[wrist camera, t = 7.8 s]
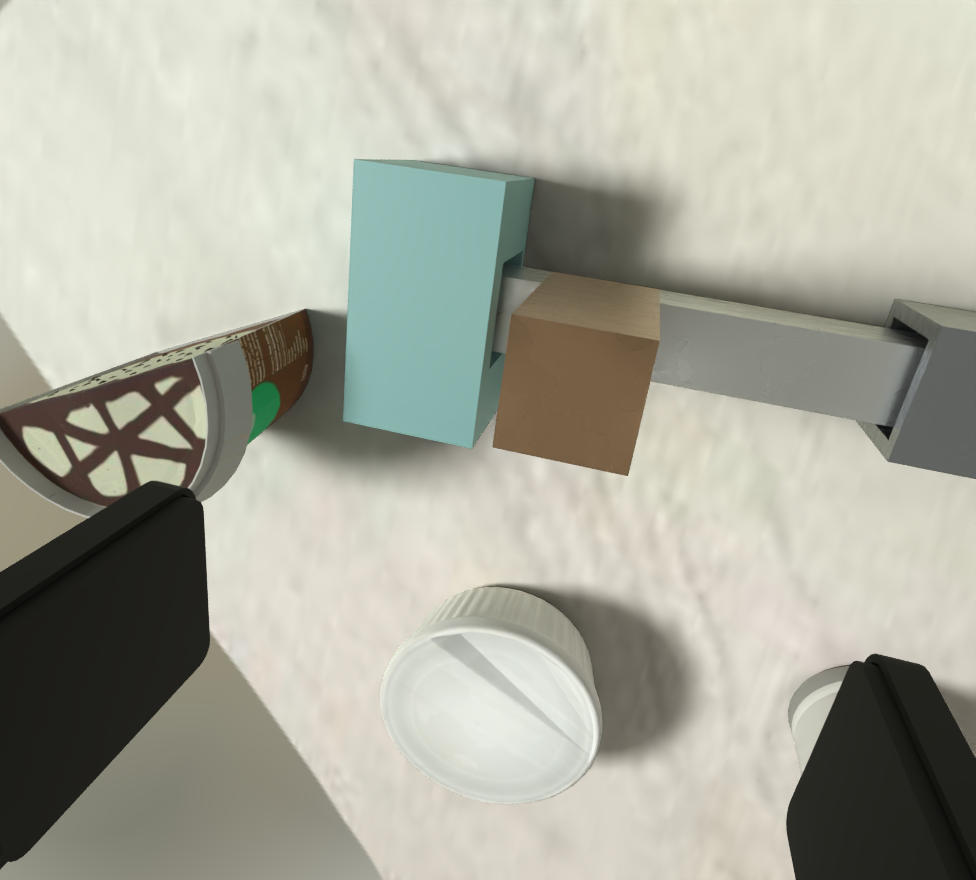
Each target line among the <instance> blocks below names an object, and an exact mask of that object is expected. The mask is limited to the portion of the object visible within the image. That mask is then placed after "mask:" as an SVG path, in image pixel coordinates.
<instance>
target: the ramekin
mask: <svg viewBox="0 0 976 880" xmlns="http://www.w3.org/2000/svg"><path fill="white" fill-rule="evenodd" d="M380 704H381V712H382V716H383V720H384V722H385V725H386V728H387V730H388V733H389V735H390V737H391V738H392V740H393V742H394V744H395V745H396V747H397V749H398V750H399V751H400V752H401V753H402V754H403V755H404V757H405V758H406V759H407V760H408V761H409V762H410V763H411V764H412V765H413V766H414V767H415V768H416V769H418V770H419V771H420V772H421V773H423V774H424V775H425V776H426V777H428V778H429V779H431V780H432V781H434V782H436V783H437V784H439V785H441V786H443V787H445V788H447V789H448V790H450V791H452V792H454V793H456V794H458V795H461V796H464V797H466V798H469V799H472V800H476V801H481V802H486V803H495V804H524V803H531V802H536V801H541V800H544V799H547V798H551V797H554V796H556V795H557V794H559V793H561V792H563V791H565V790H567V789H568V788H570V787H571V786H573V785H574V784H575V783H576V782H577V781H578V780H580V779H581V778H582V777H583V776H584V775H585V774H586V773H587V771H588V770H589V769H590V768H591V766H592V764H593V762H594V760H595V758H596V755H597V753H598V750H599V746H600V741H601V735H602V712H601V706H600V702H599V698H598V695H597V692H596V690H595V684H594V677H593V670H592V664H591V660H590V655H589V651H588V648H587V647H586V645H585V642H584V640H583V638H582V637H581V635H580V633H579V631H578V630H577V629H576V628H575V626H574V625H573V624H572V622H571V621H570V620H569V619H568V618H567V617H565V615H564V614H563V613H562V612H560V611H559V610H558V609H556V608H555V607H554V606H553V605H551V604H549V603H547V602H546V601H544V600H543V599H540V598H538V597H535V596H534V595H532V594H528V593H525V592H523V591H519V590H514V589H510V588H502V587H483V588H474V589H472V590H467V591H464V592H462V593H460V594H457V595H455V596H453V597H452V598H450V599H447V600H446V601H444V602H443V603H442V604H441V605H439V606H438V607H437V608H436V609H435V610H434V611H433V612H432V613H431V614H430V615H429V616H428V618H427V619H426V620H425V621H424V622H423V623H422V625H421V626H420V627H419V628H418V630H417V631H416V632H415V633H414V634H413V635H412V636H410V637H409V638H408V639H407V640H406V641H405V642H404V643H403V644H402V645H401V646H400V647H399V648H398V650H397V651H396V652H395V654H394V655H393V657H392V659H391V661H390V663H389V665H388V667H387V669H386V672H385V674H384V677H383V681H382V686H381V695H380Z"/></svg>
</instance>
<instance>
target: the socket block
mask: <svg viewBox="0 0 976 880" xmlns="http://www.w3.org/2000/svg"><path fill="white" fill-rule="evenodd" d="M534 184H535V178H530V177H524V176H517V175H510V174H503V173H496V172H489V171H482V170H475V169H469V168H462V167H455V166H448V165H441V164H434V163H427V162H420V161H414V160H371V159H354V171H353V194H352V218H351V242H350V266H349V290H348V314H347V337H346V361H345V385H344V409H343V421H345V422H350V423H354V424H359V425H364V426H368V427H373V428H378V429H382V430H387V431H392V432H396V433H401V434H406V435H410V436H415V437H420V438H424V439H429V440H434V441H438V442H443V443H448V444H452V445H457V446H462V447H466V448H471V449H472V448H473V446H474V445H475V443H476V442H477V440H478V439H479V437H480V436H481V434H482V433H483V431H484V430H485V428H486V426H487V425H488V423H489V422H490V420H491V419H492V417H493V416H494V414H495V413H496V411H497V410H498V405H499V397H500V390H501V383H502V376H503V369H504V362H505V355H506V354H505V353H499V352H494V351H492V344H493V336H494V329H495V321H496V314H497V306H498V299H499V291H500V283H501V276H502V268H503V264H509V265H515V266H521V267H523V260H524V253H525V247H526V240H527V233H528V226H529V219H530V212H531V205H532V198H533V191H534Z"/></svg>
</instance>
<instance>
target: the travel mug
mask: <svg viewBox="0 0 976 880" xmlns="http://www.w3.org/2000/svg"><path fill="white" fill-rule="evenodd" d="M848 668H849V666H843V667H836V668H832V669H829V670H825V671H822V672H820V673H818V674H816V675H814V676H812V677H811V678H809V679H808V680H807V681H805V682H804V683H803V684H802V685H801V686H800V687H799V688H798V690H797V691H796V692H795V693H794V695H793V697H792V699H791V701H790V705H789V710H788V715H789V723H790V728H791V732H792V736H793V740H794V743H795V749H796V753H797V758H798V762H799V766H800V770H801V775H802V773H803V771H804V769H805V766H806V764H807V762H808V760H809V757H810V755H811V753H812V750H813V748H814V746H815V743H816V741H817V739H818V737H819V734H820V732H821V730H822V727H823V725H824V723H825V721H826V718H827V716H828V714H829V711H830V709H831V707H832V704H833V702H834V700H835V698H836V695H837V693H838V691H839V688H840V686H841V684H842V681H843V679H844V677H845V675H846V672H847V670H848Z"/></svg>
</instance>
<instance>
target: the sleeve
mask: <svg viewBox="0 0 976 880" xmlns="http://www.w3.org/2000/svg"><path fill="white" fill-rule="evenodd" d="M885 328H891V329H897V330H903V331H909V332H915V333H920V334H921V335H923V336H924V337H926V338H927V339H929V341H928V343H927V346H926V348H925V351H924V353H923V356H922V358H921V361H920V363H919V366H918V368H917V371H916V373H915V376H914V378H913V381H912V383H911V386H910V388H909V391H908V393H907V395H906V398H905V400H904V403H903V405H902V408H901V410H900V413H899V415H898V418H897V420H896V423H895V425H894V427H890V426H884V425H879V424H874V423H869V422H863V421H858V420H856V421H857V422H858V424H859V425H860V426H861V428H862V429H863V430H864V432H865V433H866V434H867V435H868V437H869V438H870V439H871V441H872V442H873V443H874V445H875V446H876V447H877V448H878V450H879V451H880V452H881V454H882V455H883V456H884V458H885V459H886V460H887V461H888V462H892V463H897V464H902V465H908V466H913V467H918V468H923V469H928V470H933V471H938V472H943V473H948V474H953V475H958V476H963V477H968V478H973V479H976V312H973V311H967V310H961V309H955V308H948V307H942V306H936V305H930V304H924V303H917V302H911V301H905V300H899V299H895V300H894V303H893V305H892V308H891V311H890V313H889V316H888V319H887V321H886V324H885Z"/></svg>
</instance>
